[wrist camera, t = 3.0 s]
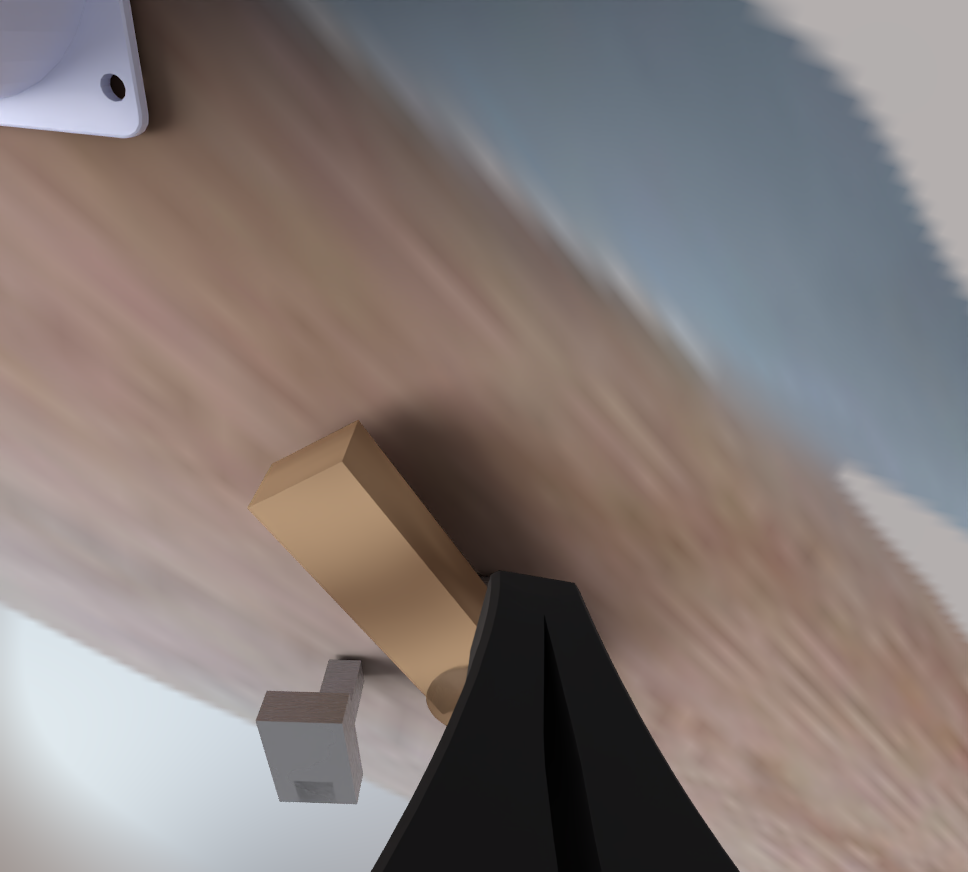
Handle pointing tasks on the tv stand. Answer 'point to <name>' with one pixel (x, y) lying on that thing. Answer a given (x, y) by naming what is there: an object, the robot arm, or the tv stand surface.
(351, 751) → the block
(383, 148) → the tv stand surface
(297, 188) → the tv stand surface
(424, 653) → the link
